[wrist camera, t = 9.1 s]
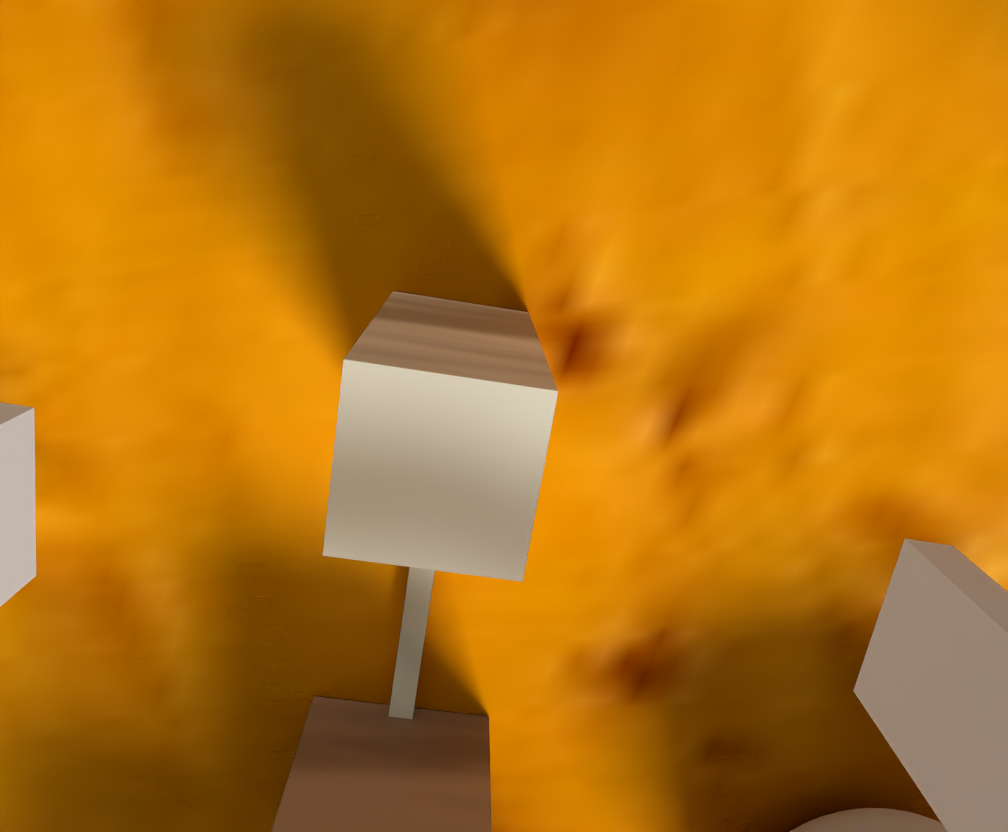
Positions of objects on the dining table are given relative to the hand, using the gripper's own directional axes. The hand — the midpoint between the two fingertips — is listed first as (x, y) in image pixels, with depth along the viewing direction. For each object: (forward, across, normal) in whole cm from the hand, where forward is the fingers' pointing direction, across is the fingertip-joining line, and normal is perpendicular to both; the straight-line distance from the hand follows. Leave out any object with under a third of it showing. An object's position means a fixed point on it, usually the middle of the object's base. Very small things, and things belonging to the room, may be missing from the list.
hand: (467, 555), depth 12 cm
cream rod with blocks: (+12, -1, -8) cm, 15 cm away
